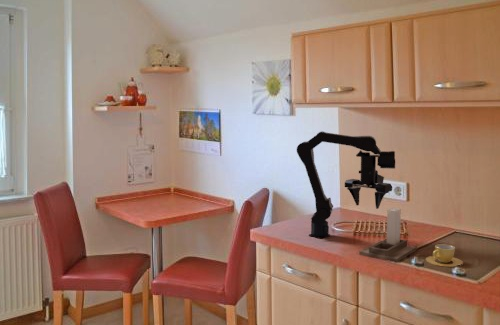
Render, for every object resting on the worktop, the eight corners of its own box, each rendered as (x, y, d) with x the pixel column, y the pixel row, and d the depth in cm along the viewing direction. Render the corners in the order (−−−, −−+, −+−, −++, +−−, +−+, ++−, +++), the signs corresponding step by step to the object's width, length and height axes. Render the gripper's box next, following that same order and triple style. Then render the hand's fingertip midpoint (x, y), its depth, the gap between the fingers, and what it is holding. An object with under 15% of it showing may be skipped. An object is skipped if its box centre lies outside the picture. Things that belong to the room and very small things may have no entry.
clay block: (386, 247, 188) (387, 210, 186) (392, 244, 191) (393, 207, 190) (394, 248, 186) (395, 211, 184) (399, 245, 190) (400, 208, 188)
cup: (443, 255, 183) (444, 240, 182) (470, 264, 172) (471, 249, 171) (418, 259, 178) (418, 244, 177) (444, 269, 167) (444, 253, 166)
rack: (359, 254, 183) (359, 245, 183) (381, 243, 197) (381, 235, 197) (396, 262, 174) (396, 253, 174) (416, 250, 188) (417, 241, 188)
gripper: (400, 168, 199) (399, 207, 201) (360, 164, 213) (359, 200, 215) (384, 171, 192) (383, 211, 194) (344, 166, 205) (343, 204, 207)
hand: (367, 206), depth 202 cm, fingers open, 9 cm apart
